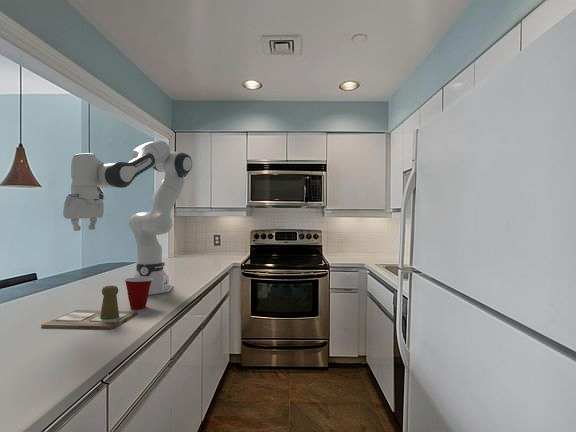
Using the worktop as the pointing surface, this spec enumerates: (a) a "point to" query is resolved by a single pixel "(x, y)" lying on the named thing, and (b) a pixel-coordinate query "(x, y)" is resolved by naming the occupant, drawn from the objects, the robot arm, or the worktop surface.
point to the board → (88, 320)
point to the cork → (109, 303)
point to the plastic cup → (138, 291)
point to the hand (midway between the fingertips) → (84, 230)
